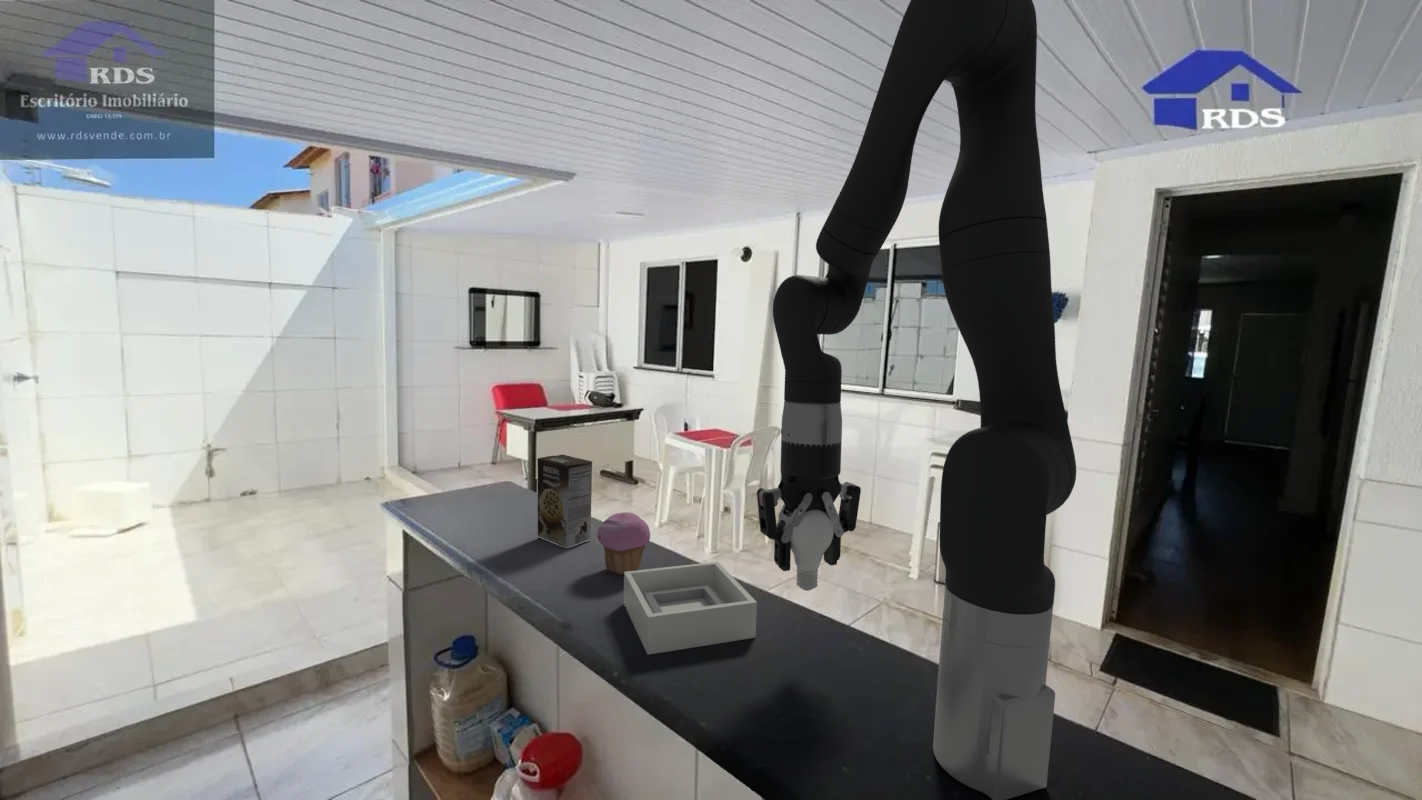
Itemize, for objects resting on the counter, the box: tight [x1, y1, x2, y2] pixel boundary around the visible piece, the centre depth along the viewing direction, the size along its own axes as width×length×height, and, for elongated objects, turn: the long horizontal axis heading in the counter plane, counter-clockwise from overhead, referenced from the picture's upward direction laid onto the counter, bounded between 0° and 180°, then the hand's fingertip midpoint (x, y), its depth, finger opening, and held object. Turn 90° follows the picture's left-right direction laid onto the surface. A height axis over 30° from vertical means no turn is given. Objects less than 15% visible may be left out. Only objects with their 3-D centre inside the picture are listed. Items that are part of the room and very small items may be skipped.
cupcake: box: [596, 511, 651, 575], centre depth 102 cm, size 9×9×10 cm
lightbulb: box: [785, 510, 834, 592], centre depth 76 cm, size 6×6×11 cm
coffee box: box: [536, 453, 593, 547], centre depth 115 cm, size 9×6×16 cm
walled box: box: [623, 561, 758, 656], centre depth 85 cm, size 15×15×5 cm
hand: (807, 565), depth 77 cm, fingers closed on lightbulb, 6 cm apart
